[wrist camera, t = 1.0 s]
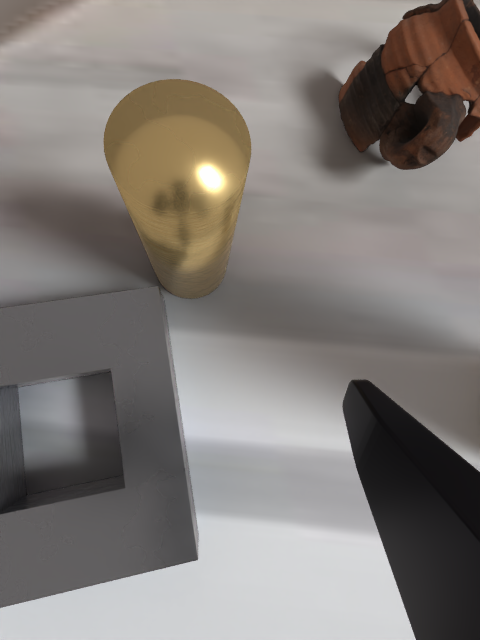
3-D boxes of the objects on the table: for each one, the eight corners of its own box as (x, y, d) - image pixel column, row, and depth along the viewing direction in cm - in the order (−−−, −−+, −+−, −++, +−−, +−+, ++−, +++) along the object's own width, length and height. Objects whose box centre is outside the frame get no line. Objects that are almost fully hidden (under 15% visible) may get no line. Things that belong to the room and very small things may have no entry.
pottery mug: (332, 56, 27) (440, -60, 21) (403, 131, 32) (511, 54, 26) (324, 167, 22) (464, 58, 16) (411, 238, 27) (547, 174, 21)
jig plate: (198, 533, 20) (198, 559, 18) (-27, 586, 19) (-69, 624, 16) (163, 298, 22) (158, 286, 20) (-43, 328, 21) (-83, 319, 18)
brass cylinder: (231, 293, 23) (262, 202, 11) (159, 303, 22) (112, 220, 11) (220, 226, 24) (237, 75, 12) (149, 234, 23) (95, 84, 11)
